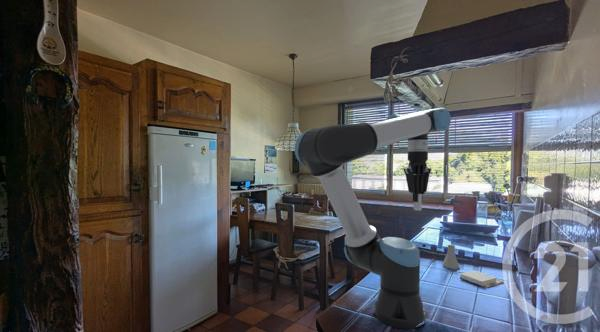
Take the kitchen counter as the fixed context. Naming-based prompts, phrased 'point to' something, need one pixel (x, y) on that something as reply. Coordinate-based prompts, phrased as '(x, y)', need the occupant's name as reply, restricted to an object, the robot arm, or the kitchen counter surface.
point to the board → (489, 284)
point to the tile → (478, 277)
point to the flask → (451, 259)
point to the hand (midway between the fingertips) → (417, 209)
